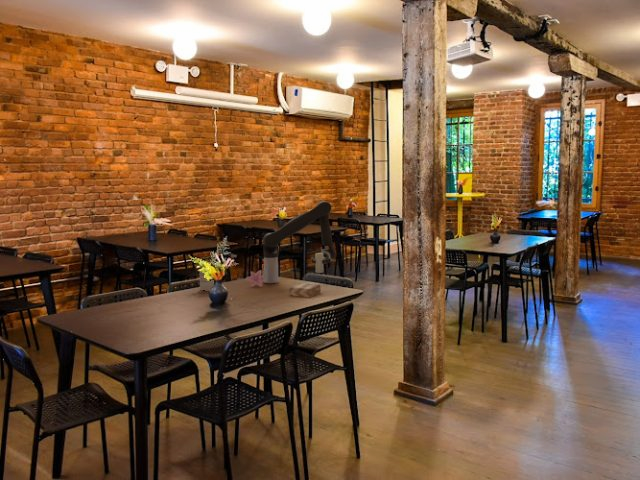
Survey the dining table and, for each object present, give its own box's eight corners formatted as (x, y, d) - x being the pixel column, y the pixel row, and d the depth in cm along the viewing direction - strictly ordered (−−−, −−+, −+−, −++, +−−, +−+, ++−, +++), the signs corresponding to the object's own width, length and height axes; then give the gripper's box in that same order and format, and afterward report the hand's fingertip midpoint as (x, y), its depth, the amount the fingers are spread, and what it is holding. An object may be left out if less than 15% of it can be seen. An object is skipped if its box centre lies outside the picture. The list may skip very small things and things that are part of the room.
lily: (243, 287, 388) (243, 276, 382) (252, 277, 397) (253, 266, 391) (259, 294, 384) (260, 282, 379) (268, 284, 393) (268, 272, 388)
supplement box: (211, 291, 371) (210, 265, 369) (199, 290, 375) (198, 264, 373) (220, 288, 380) (219, 262, 377) (208, 287, 384) (207, 262, 381)
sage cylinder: (314, 272, 371) (314, 253, 370) (317, 271, 376) (317, 252, 374) (321, 273, 369) (321, 254, 368) (324, 271, 374) (324, 253, 372)
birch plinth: (289, 295, 356) (289, 287, 356) (300, 290, 369) (300, 283, 368) (310, 297, 350) (310, 289, 350) (320, 292, 363) (320, 284, 362)
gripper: (312, 251, 386) (307, 255, 370) (334, 252, 384) (329, 256, 367) (313, 263, 387) (307, 267, 371) (334, 263, 385) (329, 268, 368)
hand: (318, 261), depth 369 cm, fingers closed on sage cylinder, 5 cm apart
